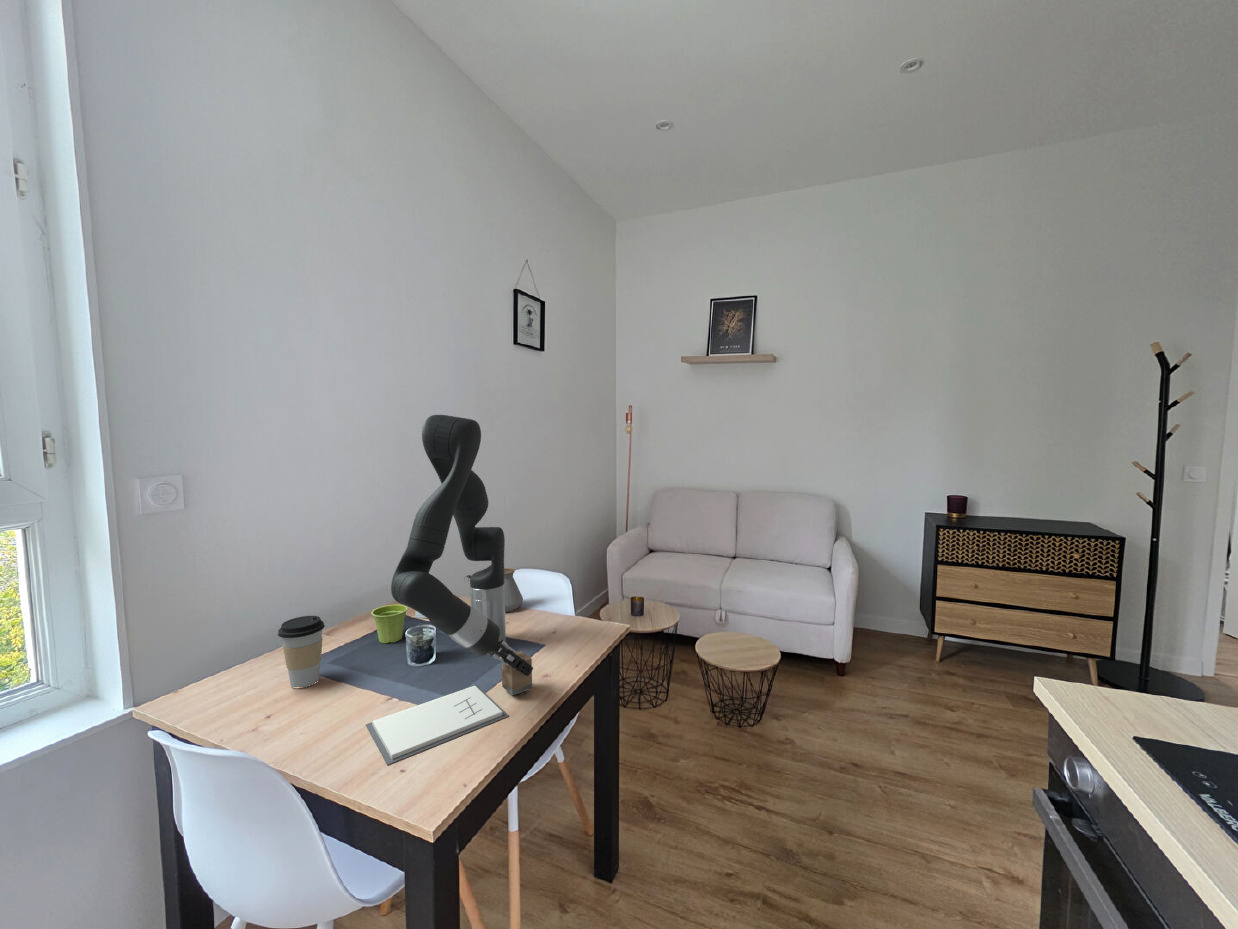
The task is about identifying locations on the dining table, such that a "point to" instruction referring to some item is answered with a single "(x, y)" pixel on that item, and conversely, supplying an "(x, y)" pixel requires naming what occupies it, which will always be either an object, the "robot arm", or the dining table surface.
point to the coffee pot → (510, 591)
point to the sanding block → (516, 677)
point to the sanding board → (433, 723)
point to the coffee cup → (302, 649)
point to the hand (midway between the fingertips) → (523, 667)
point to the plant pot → (389, 622)
